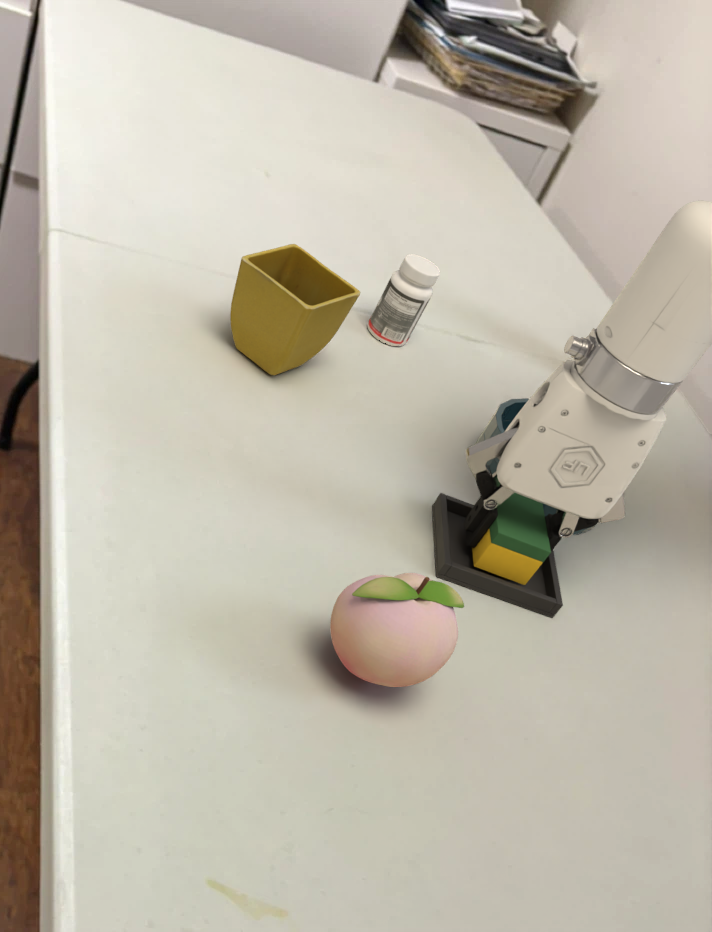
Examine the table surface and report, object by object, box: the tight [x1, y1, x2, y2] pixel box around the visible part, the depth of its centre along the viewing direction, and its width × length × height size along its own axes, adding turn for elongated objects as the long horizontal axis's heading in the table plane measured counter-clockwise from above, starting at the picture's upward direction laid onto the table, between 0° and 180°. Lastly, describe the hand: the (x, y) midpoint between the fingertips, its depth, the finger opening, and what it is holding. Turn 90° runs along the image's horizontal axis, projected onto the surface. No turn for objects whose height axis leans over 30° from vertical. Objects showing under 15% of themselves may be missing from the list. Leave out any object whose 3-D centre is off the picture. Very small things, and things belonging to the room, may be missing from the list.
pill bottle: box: [367, 253, 441, 347], centre depth 116 cm, size 5×5×8 cm
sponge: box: [472, 493, 551, 585], centre depth 95 cm, size 5×7×4 cm
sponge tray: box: [431, 492, 564, 619], centre depth 97 cm, size 11×10×2 cm
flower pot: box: [229, 243, 361, 376], centre depth 104 cm, size 9×9×9 cm
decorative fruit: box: [329, 572, 465, 688], centre depth 78 cm, size 9×8×10 cm
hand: (499, 546), depth 96 cm, fingers closed on sponge, 5 cm apart
